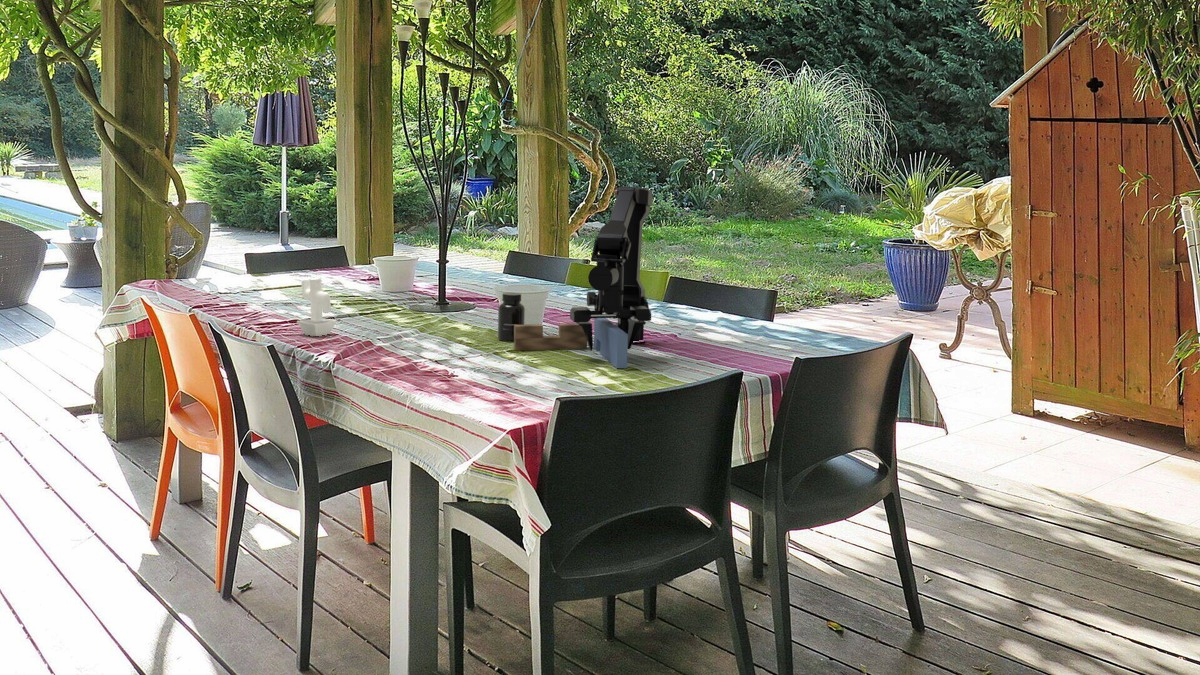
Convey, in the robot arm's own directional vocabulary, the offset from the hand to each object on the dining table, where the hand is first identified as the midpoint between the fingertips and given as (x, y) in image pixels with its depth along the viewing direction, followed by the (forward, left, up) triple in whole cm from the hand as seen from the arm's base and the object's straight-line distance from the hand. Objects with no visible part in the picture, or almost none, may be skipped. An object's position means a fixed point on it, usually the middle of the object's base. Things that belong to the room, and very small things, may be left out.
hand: (609, 349), depth 249 cm
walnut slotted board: (+12, -13, -2) cm, 18 cm away
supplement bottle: (+20, -26, -2) cm, 33 cm away
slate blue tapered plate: (0, 0, -2) cm, 2 cm away
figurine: (+69, -39, -2) cm, 79 cm away
